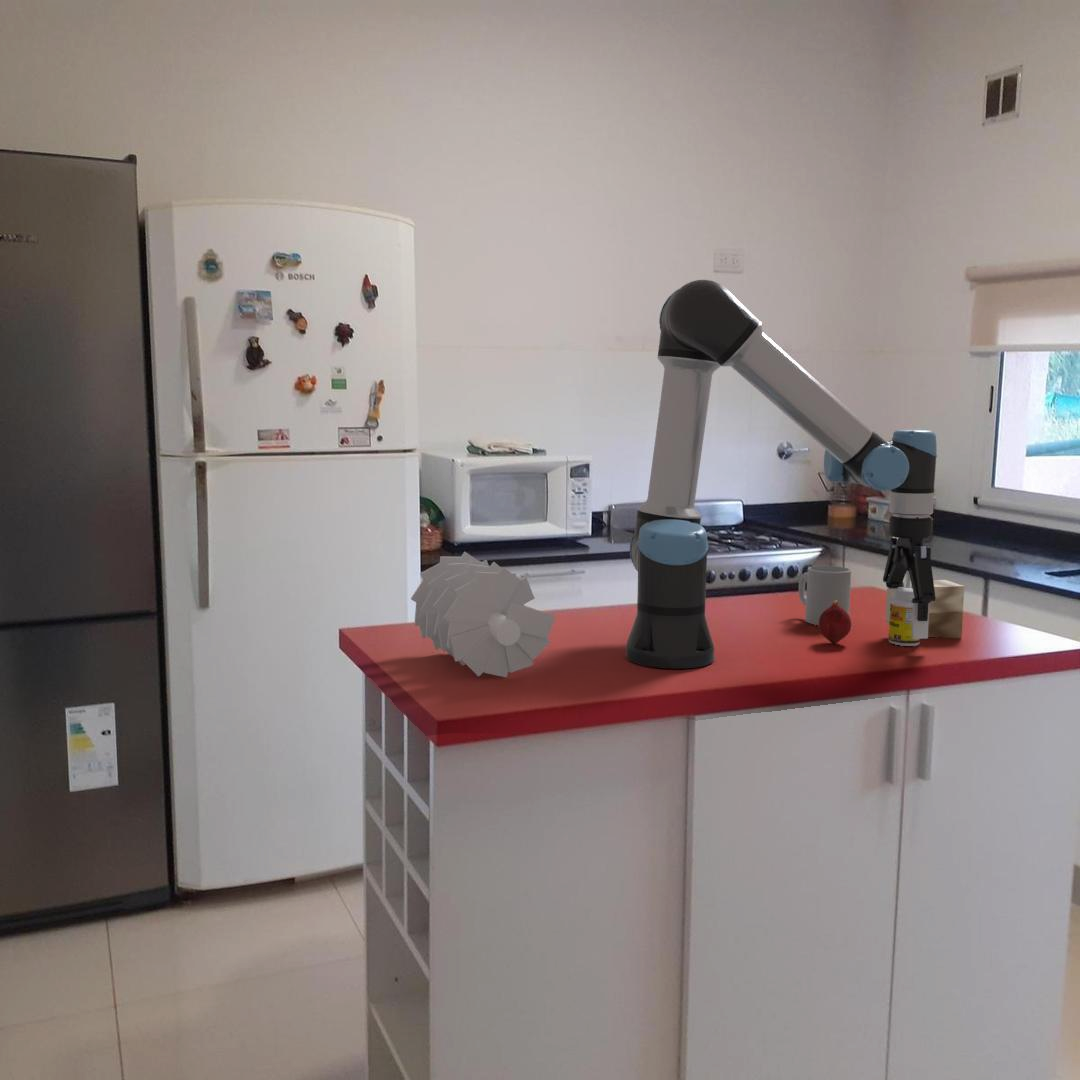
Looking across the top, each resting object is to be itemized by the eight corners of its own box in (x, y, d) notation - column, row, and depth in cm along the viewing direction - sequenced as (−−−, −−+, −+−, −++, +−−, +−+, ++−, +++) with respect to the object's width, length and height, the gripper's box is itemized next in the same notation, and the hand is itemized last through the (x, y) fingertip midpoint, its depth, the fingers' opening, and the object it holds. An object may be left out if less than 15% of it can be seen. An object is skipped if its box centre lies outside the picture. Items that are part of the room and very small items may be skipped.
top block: (928, 613, 206) (929, 586, 206) (910, 605, 213) (911, 580, 213) (962, 612, 207) (964, 586, 207) (944, 605, 214) (945, 579, 214)
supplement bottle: (883, 640, 205) (886, 586, 203) (913, 640, 205) (916, 586, 203) (894, 647, 199) (897, 592, 198) (924, 647, 199) (927, 592, 198)
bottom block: (921, 638, 207) (923, 612, 207) (908, 630, 215) (909, 605, 214) (961, 638, 207) (962, 613, 207) (946, 630, 215) (948, 605, 214)
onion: (851, 648, 198) (853, 604, 197) (818, 646, 199) (820, 603, 198) (849, 641, 204) (851, 598, 203) (817, 639, 205) (819, 597, 204)
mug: (858, 624, 219) (860, 570, 217) (827, 628, 214) (830, 573, 213) (813, 613, 229) (815, 561, 227) (783, 618, 224) (785, 565, 223)
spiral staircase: (480, 708, 172) (430, 664, 195) (573, 653, 178) (513, 616, 200) (434, 610, 166) (387, 576, 189) (532, 556, 171) (475, 529, 194)
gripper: (959, 523, 186) (952, 645, 189) (907, 507, 211) (902, 615, 214) (915, 523, 186) (909, 645, 189) (868, 508, 211) (864, 616, 214)
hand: (906, 630), depth 202 cm, fingers open, 13 cm apart
